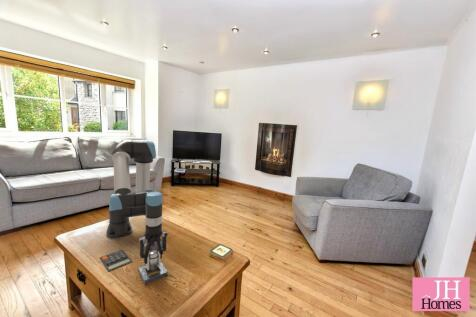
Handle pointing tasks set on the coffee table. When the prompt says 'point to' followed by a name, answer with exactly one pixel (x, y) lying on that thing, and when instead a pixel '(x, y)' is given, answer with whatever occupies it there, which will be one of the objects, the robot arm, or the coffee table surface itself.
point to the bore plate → (152, 277)
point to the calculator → (115, 260)
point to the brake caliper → (154, 245)
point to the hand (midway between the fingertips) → (153, 266)
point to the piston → (153, 259)
